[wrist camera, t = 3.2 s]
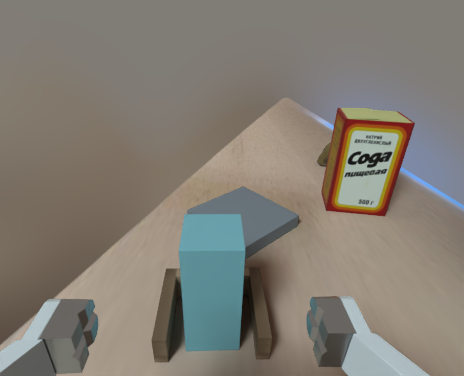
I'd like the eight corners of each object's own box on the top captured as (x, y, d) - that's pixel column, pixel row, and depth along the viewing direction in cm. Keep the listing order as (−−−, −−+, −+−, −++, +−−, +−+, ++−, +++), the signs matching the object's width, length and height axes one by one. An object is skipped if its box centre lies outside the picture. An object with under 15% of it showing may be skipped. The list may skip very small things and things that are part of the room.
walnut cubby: (257, 286, 35) (259, 267, 34) (269, 358, 28) (272, 337, 26) (168, 288, 35) (166, 268, 33) (154, 362, 27) (151, 341, 26)
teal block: (236, 306, 33) (240, 214, 27) (239, 349, 29) (245, 250, 23) (189, 307, 33) (184, 214, 27) (185, 351, 28) (178, 251, 23)
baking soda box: (374, 196, 56) (399, 109, 48) (384, 216, 50) (415, 120, 42) (321, 192, 57) (338, 105, 49) (326, 210, 51) (345, 116, 43)
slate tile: (242, 196, 54) (243, 186, 53) (297, 226, 47) (299, 215, 46) (187, 220, 47) (187, 210, 46) (241, 261, 39) (242, 249, 38)
